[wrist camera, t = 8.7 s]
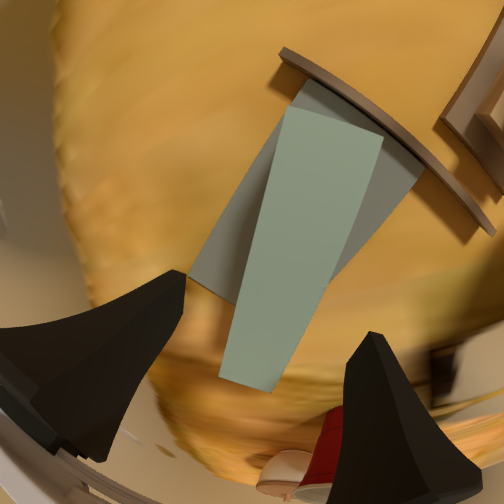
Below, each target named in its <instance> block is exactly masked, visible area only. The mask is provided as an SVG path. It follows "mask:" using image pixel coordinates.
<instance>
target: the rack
mask: <svg viewBox="0 0 504 504" xmlns="http://www.w3.org/2000/svg"><path fill="white" fill-rule="evenodd" d="M278 55H279V56H280V58H281V59H282V61H284V62H285V63H287V64H289V65H291V66H293V67H295V68H296V69H298V70H300V71H302V72H303V73H305V74H307V75H308V76H310V77H312V78H313V79H315V80H317V81H318V82H320V83H321V84H323V85H325V86H326V87H328V88H329V89H331V90H332V91H334V92H335V93H337V94H338V95H340V96H341V97H343V98H344V99H346V100H347V101H349V102H350V103H351V104H353V105H354V106H356V107H357V108H358V109H360V110H361V111H362V112H364V113H365V114H366V115H368V116H369V117H370V118H372V119H373V120H374V121H375V122H377V123H378V124H379V125H380V126H382V127H383V128H384V129H385V130H387V131H388V132H389V133H390V134H391V135H393V136H394V137H395V138H396V139H397V140H398V141H400V142H401V143H402V144H403V145H404V146H405V147H406V148H408V149H409V150H410V151H411V152H412V153H413V154H414V155H415V156H416V157H417V158H418V159H419V160H420V161H422V162H423V163H424V164H425V165H426V166H427V167H428V168H429V169H430V170H431V171H432V172H433V173H434V174H435V175H436V176H437V177H438V178H439V179H440V180H441V182H442V183H443V184H444V185H445V186H446V187H447V188H448V189H449V190H450V191H451V192H452V193H453V195H454V196H455V197H456V198H457V199H458V200H459V201H460V202H461V204H462V205H463V206H464V207H465V208H466V210H467V211H468V212H469V213H470V214H471V216H472V217H473V218H474V219H475V221H476V222H477V223H478V224H479V226H480V227H481V228H482V229H483V230H485V231H486V232H487V233H488V234H489V235H490V236H491V237H493V236H494V234H495V233H496V232H497V231H496V229H495V228H494V227H493V225H492V224H491V222H490V221H489V220H488V218H487V217H486V216H485V214H484V213H483V212H482V210H481V209H480V208H479V206H478V205H477V204H476V203H475V201H474V200H473V199H472V198H471V196H470V195H469V194H468V193H467V192H466V190H465V189H464V188H463V187H462V186H461V184H460V183H459V182H458V181H457V180H456V179H455V178H454V177H453V175H452V174H451V173H450V172H449V171H448V170H447V169H446V168H445V167H444V166H443V165H442V164H441V163H440V162H439V161H438V159H437V158H436V157H435V156H434V155H433V154H432V153H431V152H430V151H429V150H427V149H426V148H425V147H424V146H423V145H422V144H421V143H420V142H419V141H418V140H417V139H416V138H415V137H414V136H413V135H412V134H410V133H409V132H408V131H407V130H406V129H405V128H404V127H402V126H401V125H400V124H399V123H398V122H397V121H395V120H394V119H393V118H392V117H391V116H389V115H388V114H387V113H386V112H384V111H383V110H382V109H381V108H379V107H378V106H377V105H376V104H374V103H373V102H372V101H370V100H369V99H368V98H366V97H365V96H364V95H362V94H361V93H359V92H358V91H357V90H355V89H354V88H352V87H351V86H349V85H348V84H346V83H345V82H344V81H342V80H341V79H339V78H337V77H336V76H334V75H333V74H331V73H330V72H328V71H326V70H325V69H323V68H322V67H320V66H318V65H317V64H315V63H313V62H311V61H310V60H308V59H306V58H304V57H303V56H301V55H299V54H297V53H295V52H293V51H292V50H290V49H288V48H286V47H283V48H282V50H281V51H280V53H279V54H278ZM503 62H504V7H503V9H502V11H501V13H500V15H499V17H498V19H497V21H496V23H495V25H494V27H493V29H492V31H491V33H490V35H489V37H488V39H487V40H486V42H485V44H484V46H483V48H482V49H481V51H480V53H479V55H478V56H477V58H476V60H475V62H474V63H473V65H472V67H471V68H470V70H469V72H468V73H467V75H466V77H465V78H464V80H463V81H462V83H461V85H460V86H459V88H458V89H457V91H456V92H455V94H454V96H453V97H452V99H451V100H450V102H449V103H448V105H447V106H446V108H445V109H444V111H443V112H442V114H441V115H440V117H439V118H440V119H441V120H442V121H443V122H444V123H445V124H446V125H447V126H448V127H449V128H450V129H451V130H452V131H453V132H454V133H455V134H456V136H457V137H458V138H459V139H460V140H461V141H462V142H463V143H464V145H465V146H466V147H467V148H468V149H469V150H470V152H471V153H472V154H473V155H474V156H475V158H476V159H477V160H478V161H479V163H480V164H481V165H482V166H483V168H484V169H485V170H486V172H487V173H488V174H489V176H490V177H491V178H492V180H493V181H494V182H495V184H496V185H497V187H498V188H499V190H500V191H501V193H502V194H503V195H504V151H503V149H502V148H501V146H500V145H499V144H498V142H497V141H496V140H495V138H494V137H493V136H492V134H491V133H490V132H489V130H488V129H487V128H486V127H485V125H484V124H483V123H482V122H481V120H480V119H479V118H478V117H477V116H476V115H475V111H476V110H477V108H478V106H479V105H480V103H481V102H482V100H483V98H484V96H485V95H486V93H487V91H488V90H489V88H490V86H491V84H492V83H493V81H494V79H495V77H496V75H497V73H498V71H499V70H500V68H501V66H502V64H503Z"/></svg>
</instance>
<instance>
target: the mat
mask: <svg viewBox="0 0 504 504" xmlns="http://www.w3.org/2000/svg"><path fill="white" fill-rule="evenodd" d="M290 106H292V107H296V108H300V109H303V110H307V111H310V112H314V113H317V114H320V115H324V116H327V117H330V118H333V119H336V120H339V121H342V122H345V123H348V124H351V125H354V126H357V127H359V128H362V129H365V130H367V131H370V132H372V133H375V134H378V135H380V136H383V137H384V139H383V142H382V145H381V149H380V152H379V155H378V158H377V161H376V164H375V167H374V170H373V173H372V175H371V178H370V181H369V184H368V187H367V189H366V192H365V195H364V198H363V200H362V203H361V206H360V208H359V211H358V213H357V216H356V219H355V221H354V224H353V226H352V229H351V231H350V234H349V236H348V239H347V241H346V243H345V246H344V248H343V250H342V253H341V255H340V258H339V260H338V262H337V264H336V267H335V269H334V271H333V273H332V276H331V278H330V280H329V282H328V284H329V283H330V282H331V280H332V279H333V278H334V277H335V276H336V275H337V274H338V273H339V272H340V271H341V270H342V269H343V268H344V267H345V265H346V264H347V263H348V262H349V261H350V260H351V259H352V258H353V257H354V256H355V254H356V253H357V252H358V251H359V250H360V249H361V248H362V247H363V245H364V244H365V243H366V242H367V241H368V240H369V239H370V237H371V236H372V235H373V234H374V233H375V232H376V230H377V229H378V228H379V227H380V226H381V225H382V223H383V222H384V221H385V220H386V219H387V217H388V216H389V215H390V214H391V213H392V211H393V210H394V209H395V208H396V206H397V205H398V204H399V203H400V202H401V200H402V199H403V198H404V197H405V195H406V194H407V193H408V191H409V190H410V189H411V188H412V186H413V185H414V184H415V182H416V181H417V180H418V179H419V177H420V176H421V175H422V173H423V172H424V171H425V169H426V168H425V167H424V166H423V165H422V164H421V163H420V162H419V161H418V160H417V159H416V158H415V157H414V156H413V155H412V154H411V153H410V152H408V151H407V150H406V149H405V148H404V147H403V146H402V145H401V144H399V143H398V142H397V141H396V140H395V139H394V138H392V137H391V136H390V135H389V134H388V133H386V132H385V131H384V130H383V129H382V128H380V127H379V126H378V125H377V124H375V123H374V122H373V121H371V120H370V119H369V118H368V117H366V116H365V115H364V114H362V113H361V112H360V111H358V110H357V109H355V108H354V107H353V106H351V105H350V104H348V103H347V102H346V101H344V100H343V99H341V98H340V97H338V96H337V95H335V94H334V93H332V92H331V91H329V90H328V89H326V88H325V87H323V86H321V85H320V84H318V83H317V82H315V81H313V80H312V79H310V78H308V79H307V81H306V82H305V84H304V85H303V87H302V88H301V90H300V91H299V93H298V94H297V96H296V97H295V98H294V100H293V101H292V103H291V104H290ZM284 116H285V114H284V115H283V117H282V118H281V120H280V121H279V123H278V124H277V126H276V127H275V129H274V130H273V132H272V133H271V135H270V137H269V138H268V140H267V141H266V143H265V144H264V146H263V148H262V149H261V151H260V152H259V154H258V156H257V157H256V159H255V160H254V162H253V164H252V165H251V167H250V168H249V170H248V172H247V173H246V175H245V177H244V178H243V180H242V181H241V183H240V185H239V186H238V188H237V190H236V191H235V193H234V195H233V196H232V198H231V200H230V201H229V203H228V205H227V207H226V208H225V210H224V212H223V213H222V215H221V217H220V218H219V220H218V222H217V224H216V225H215V227H214V229H213V231H212V232H211V234H210V236H209V238H208V239H207V241H206V243H205V245H204V246H203V248H202V250H201V252H200V253H199V255H198V257H197V259H196V261H195V262H194V264H193V266H192V268H191V270H190V271H189V273H188V276H189V277H191V278H192V279H194V280H195V281H197V282H198V283H200V284H201V285H203V286H205V287H206V288H208V289H209V290H211V291H212V292H214V293H216V294H217V295H219V296H220V297H222V298H223V299H225V300H227V301H228V302H230V303H232V304H233V305H235V306H236V304H237V300H238V297H239V293H240V289H241V285H242V281H243V277H244V273H245V269H246V265H247V261H248V257H249V253H250V249H251V245H252V241H253V237H254V233H255V229H256V225H257V222H258V218H259V214H260V210H261V206H262V202H263V198H264V194H265V190H266V186H267V182H268V178H269V174H270V171H271V167H272V163H273V159H274V155H275V151H276V147H277V143H278V139H279V135H280V131H281V128H282V124H283V120H284Z"/></svg>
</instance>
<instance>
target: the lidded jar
mask: <svg viewBox="0 0 504 504" xmlns="http://www.w3.org/2000/svg"><path fill="white" fill-rule="evenodd" d="M312 456H313V454H311V453H309V452H307V451H302V450H283V451H280V452H279V453H278V454H277V455H275V456H274V457H272V458H271V459H270V460H268V461H267V463H266V464H265V465H264V467H263V469H262V471H261V474H260V476H259V480H258V483H257V485H256V490H258V491H259V492H261V493H264V494H267V495H271V496H275V497H281V498H284V502H290V499H296V498H294V497H293V496H292V494H291V492H292V491H293V490H294V489H295V488H297V487H298V486H299V484H300V482H301V481H302V480H303V477H304V475H305V473H306V472H307V469H308V467H309V464H310V461H311V459H312Z"/></svg>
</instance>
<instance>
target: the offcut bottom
mask: <svg viewBox="0 0 504 504" xmlns="http://www.w3.org/2000/svg"><path fill="white" fill-rule="evenodd" d="M475 115H476V116H477V117H478V118H479V119H480V120H481V122H482V123H483V124H484V125H485V127H486V128H487V129H488V130H489V132H490V133H491V134H492V136H493V137H494V138H495V140H496V141H497V142H498V144H499V145H500V146H501V148H502V149H503V151H504V62H503V64H502V66H501V68H500V70H499V71H498V73H497V75H496V77H495V79H494V81H493V83H492V84H491V86H490V88H489V90H488V91H487V93H486V95H485V96H484V98H483V100H482V102H481V103H480V105H479V106H478V108H477V110H476V111H475Z"/></svg>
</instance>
